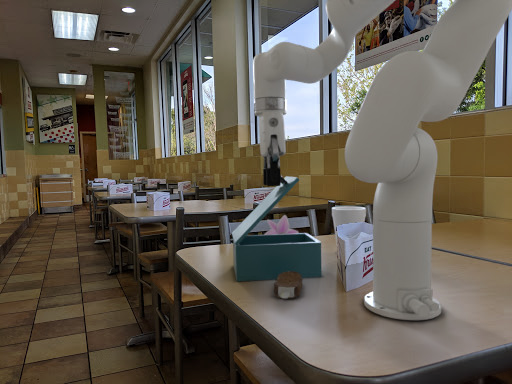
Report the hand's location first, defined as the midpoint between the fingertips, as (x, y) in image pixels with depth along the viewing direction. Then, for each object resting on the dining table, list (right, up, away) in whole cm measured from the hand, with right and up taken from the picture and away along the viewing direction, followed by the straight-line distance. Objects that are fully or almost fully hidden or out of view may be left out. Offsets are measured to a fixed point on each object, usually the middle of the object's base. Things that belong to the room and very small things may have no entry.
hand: (271, 184), depth 90 cm
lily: (+4, -20, +26) cm, 33 cm away
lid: (-2, -6, 0) cm, 6 cm away
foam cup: (+23, -20, +19) cm, 36 cm away
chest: (+1, -21, +1) cm, 21 cm away
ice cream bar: (+3, -22, -15) cm, 27 cm away
